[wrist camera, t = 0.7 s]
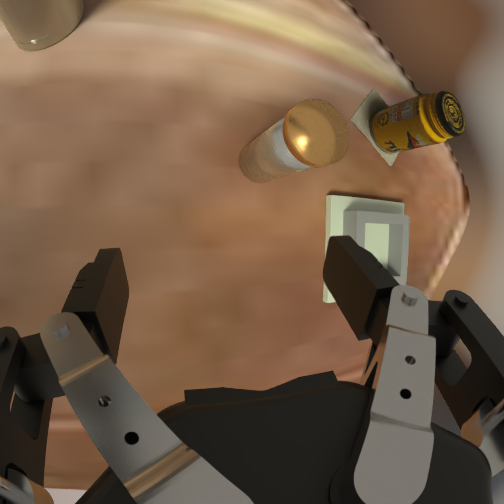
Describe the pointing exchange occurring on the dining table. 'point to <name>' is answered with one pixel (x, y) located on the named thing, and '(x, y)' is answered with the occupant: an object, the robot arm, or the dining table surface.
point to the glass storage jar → (296, 143)
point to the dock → (371, 231)
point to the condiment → (409, 122)
